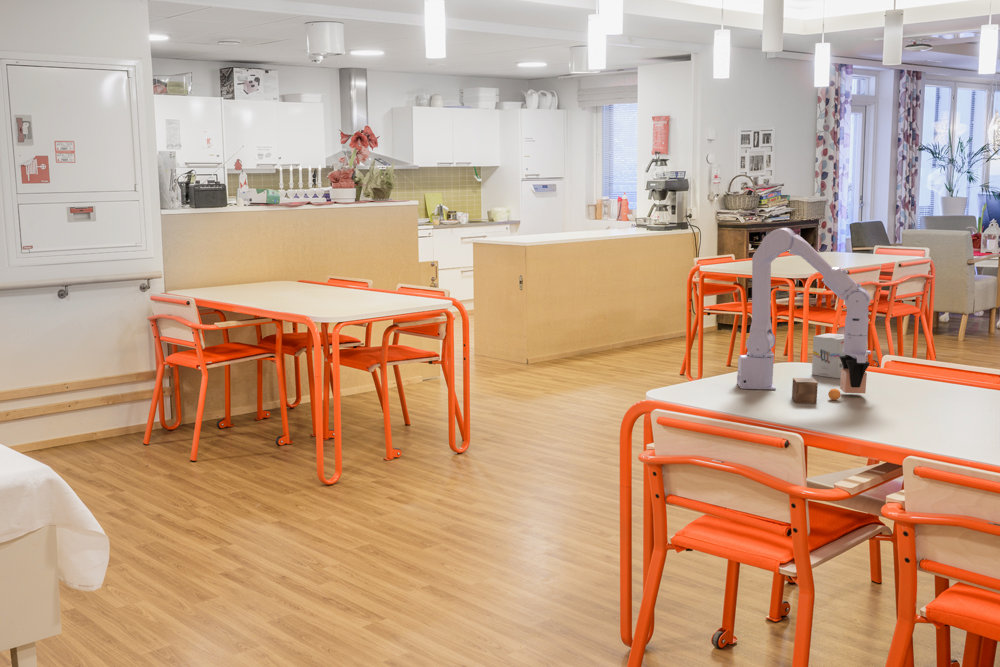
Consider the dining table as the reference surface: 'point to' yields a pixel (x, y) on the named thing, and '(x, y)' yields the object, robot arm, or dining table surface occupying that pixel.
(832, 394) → the orange ball
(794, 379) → the brown block
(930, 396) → the dining table surface
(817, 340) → the ink box
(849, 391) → the salmon pink block
